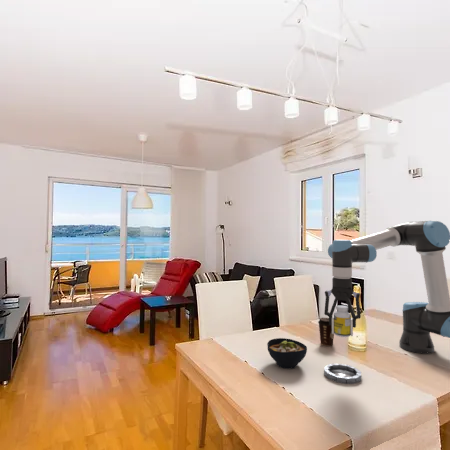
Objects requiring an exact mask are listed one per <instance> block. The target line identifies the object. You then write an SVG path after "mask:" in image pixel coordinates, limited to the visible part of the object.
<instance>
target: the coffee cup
mask: <svg viewBox="0 0 450 450" xmlns="http://www.w3.org/2000/svg"><path fill="white" fill-rule="evenodd" d="M317 323H318V328H319V341H320V345H321V346H324V347H325V346H326V347H331V346H333V345H334V337H335V334H332V325H329V317H320V318H319V320H318V321H317Z"/></svg>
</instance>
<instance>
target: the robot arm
mask: <svg viewBox="0 0 450 450" xmlns="http://www.w3.org/2000/svg"><path fill="white" fill-rule="evenodd" d="M449 244H450V230H449V227H448V226H447V225H446V224H445V223H443V222H441V221H439V220H438V221H437V220H424V221H423V220H422V221H421V220H420V221H407V222H402V223H399V224H395V225H394V226H390V227H387V228H386V229H384V230H383V231H380V232H376V233H371V234H370V235H366V236H362V237H358V238H355V239H352V240H351V239H334V240H333V241H332V243H331V244H330V245H329V246H328V247H327V253H328V257H329V258H330V259H331V260H332V262H331V263H332V265H331V268H332V269H331V271H332V273H331V276H332V287H331V290H330V289H329V290H328V289H327V290H325V291H324V296H325V303H324V315H325V316H328V318H329V325H332V334H334V313H335V309H336V306H337V305H338V304H337V303H338V301H343V302H344V301H345V302H346V306H348V309H349V310H348V311H349V314H350V315H351V335H350V337H354V336H353V335H354V328H356V327H357V320H358V319H359V320H360V319H361V317H362V314H361V305H360V298H361V293H360V292H355V291H354V290H353V279H352V276H353V268H352V267H353V263H372V262H374V261H375V260H376V258H377V250H379V249H383V248H387V247H398V246H411V247H412V246H414V248H415V251H416V253H418V254H419V255H420V259H421V265H422V271H423V278H424V285H425V288H426V289H425V290H426V296H427V300H428V302H424V301H423V302H422V301H408V302H404V303H403V305H402V333H401V336H400V339H399V347H400V348H401V349H403V350H406V351H408V352H412V353H416V354H433V353H435V346H434V342H433V339H432V337H431V333H432V334H435V335H438V336H441V337H442V338H448V339H450V290H449V286H448V285H449V284H448V279H447V274H446V267H445V261H444V255H443V252H444V251H446V250H447V246H448V245H449ZM331 295H333V296H334V300H333V302H332V306H331V308H330V311H329V307H330V305H329V304H330V297H331ZM352 296H353V297H354V299H355V307H356V313H355V310H354V307H353V305H352V302H351V297H352ZM334 335H335V334H334Z"/></svg>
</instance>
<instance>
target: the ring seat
mask: <svg viewBox="0 0 450 450" xmlns="http://www.w3.org/2000/svg"><path fill="white" fill-rule="evenodd" d="M323 375H324V376H325V377H326V378H327V379H328V380H330V381H333V382H336V383H338V384H339V383H340V384H345V385H346V384H347V385H352V384H358V383H360V382H361V381H362V371H361V370H360V369H358V368H357V367H354V366H352V365H349V364H345V363H330V364H327V365H325V366H324V368H323Z"/></svg>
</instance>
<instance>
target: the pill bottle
mask: <svg viewBox="0 0 450 450" xmlns="http://www.w3.org/2000/svg"><path fill="white" fill-rule="evenodd" d="M335 309H336V311H334V312H333V316H334V336H337V337H340V338H349V337H351V318H352V316H351V313H350V312H349V311H350V310H349V307H348V305H338V304H337V305H336V307H335Z"/></svg>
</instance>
